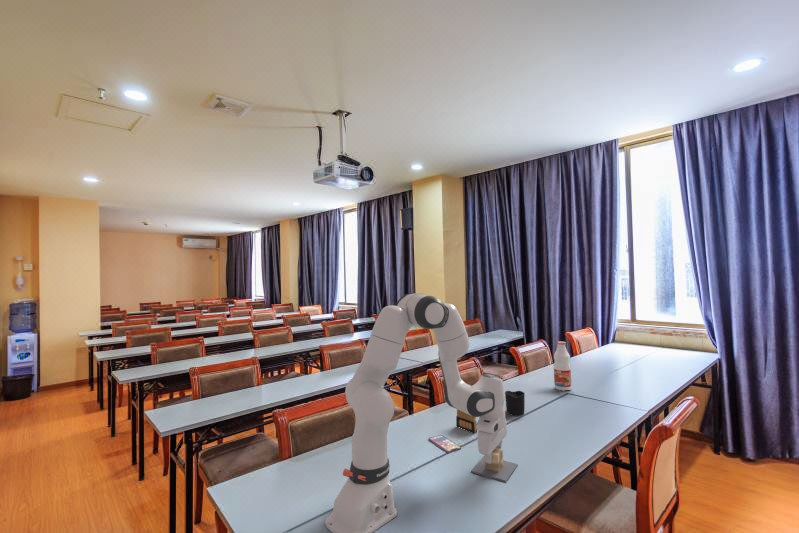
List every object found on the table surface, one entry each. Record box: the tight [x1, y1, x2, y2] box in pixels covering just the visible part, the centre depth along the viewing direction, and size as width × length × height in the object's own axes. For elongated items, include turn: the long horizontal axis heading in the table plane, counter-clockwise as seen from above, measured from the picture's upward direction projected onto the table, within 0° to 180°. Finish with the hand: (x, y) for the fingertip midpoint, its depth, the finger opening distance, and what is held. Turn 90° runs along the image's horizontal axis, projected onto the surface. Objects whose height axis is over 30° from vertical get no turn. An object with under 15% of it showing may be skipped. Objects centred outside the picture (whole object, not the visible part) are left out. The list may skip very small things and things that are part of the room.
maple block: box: [485, 448, 504, 472], centre depth 140 cm, size 5×5×6 cm
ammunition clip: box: [455, 409, 478, 434], centre depth 175 cm, size 11×2×12 cm, turn 41°
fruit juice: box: [553, 340, 573, 391], centre depth 229 cm, size 9×9×28 cm
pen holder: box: [504, 390, 526, 416], centre depth 194 cm, size 9×9×10 cm
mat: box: [470, 455, 519, 483], centre depth 140 cm, size 13×13×1 cm
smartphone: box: [428, 434, 462, 454], centre depth 161 cm, size 1×7×15 cm
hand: (494, 456), depth 140 cm, fingers open, 8 cm apart
